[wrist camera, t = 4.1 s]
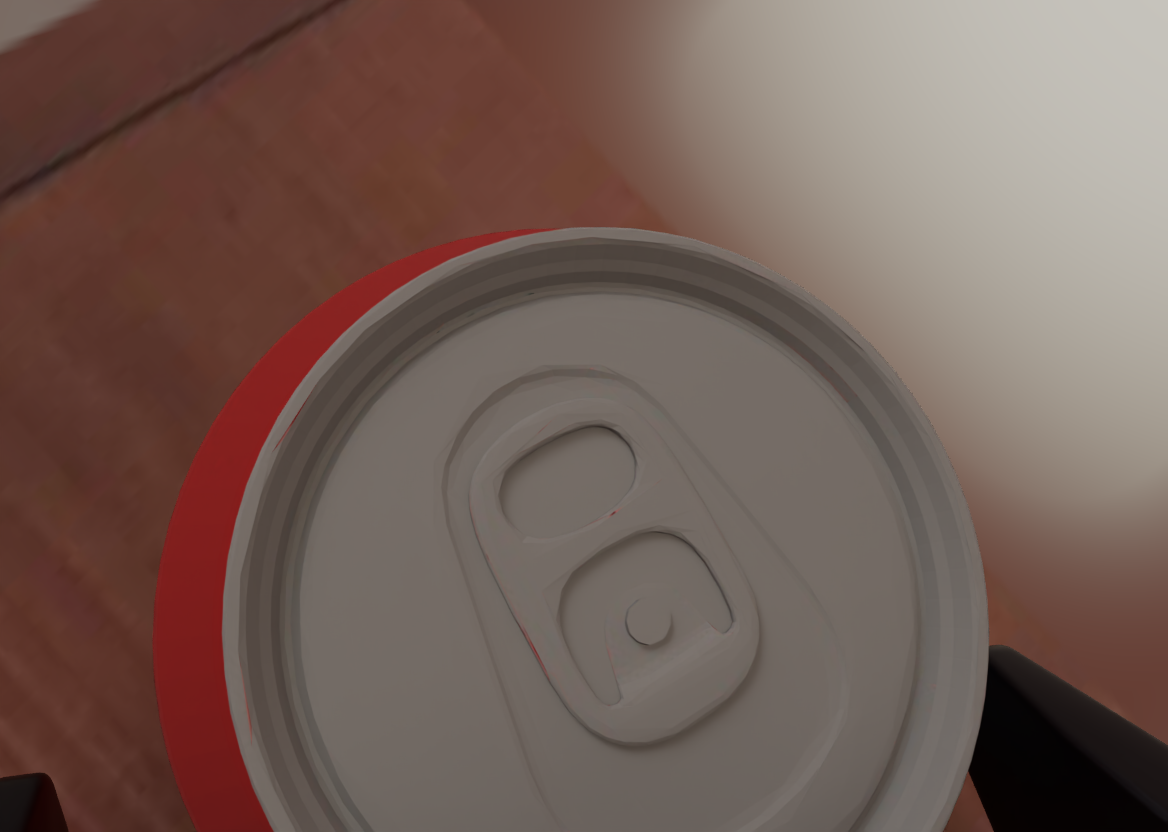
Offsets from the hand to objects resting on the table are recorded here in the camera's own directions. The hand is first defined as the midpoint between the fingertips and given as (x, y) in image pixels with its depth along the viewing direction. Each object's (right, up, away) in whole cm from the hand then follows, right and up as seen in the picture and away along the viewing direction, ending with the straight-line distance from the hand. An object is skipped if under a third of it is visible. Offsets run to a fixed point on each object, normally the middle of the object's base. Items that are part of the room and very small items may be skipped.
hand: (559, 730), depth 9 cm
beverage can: (-2, -1, +9) cm, 9 cm away
